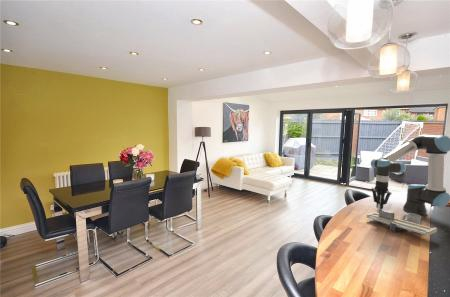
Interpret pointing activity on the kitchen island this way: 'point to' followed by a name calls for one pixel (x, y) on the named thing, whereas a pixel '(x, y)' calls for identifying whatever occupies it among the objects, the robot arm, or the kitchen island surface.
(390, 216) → the block
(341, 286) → the kitchen island surface
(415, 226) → the beam
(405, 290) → the kitchen island surface
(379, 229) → the kitchen island surface
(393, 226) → the fulcrum
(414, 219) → the cup
